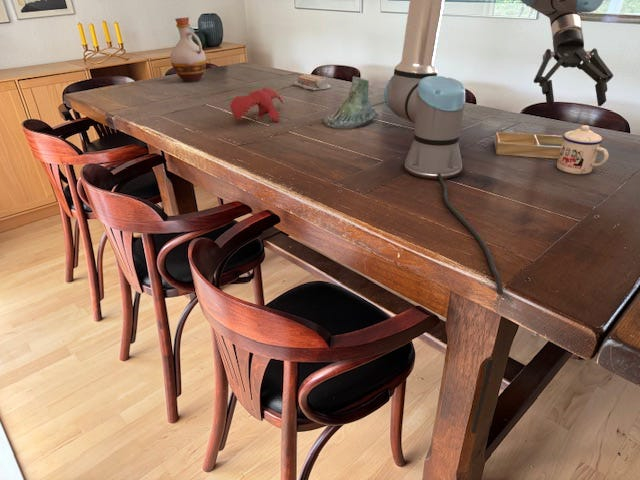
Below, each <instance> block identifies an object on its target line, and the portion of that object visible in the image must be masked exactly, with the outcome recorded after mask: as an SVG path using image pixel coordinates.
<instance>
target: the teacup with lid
mask: <svg viewBox="0 0 640 480" xmlns="http://www.w3.org/2000/svg"><path fill="white" fill-rule="evenodd" d="M590 128H591V127H590V126H589V125H586V124H585V125H581V126H580V128H577V129H574V130H569V131H565V133H564V134H563V135H562V136H563V142H562V146H561V150H560V154H559V158H558V159H557V161H556V167H557V169H558V170H560V171H562V172H565V173H568V174H573V175H587V174H590V173H591V172H592V171H593V168H594V167H601V166H602V165H604V164H605V163H606V162H607V161H608V159H609V152H608V150H607V149H606V148H605V147H601V143H602V142H603V137H602V136H601V135H600V134H598V133H595V132H594V131H592V130H590ZM598 152H601V153H602V154H603V159H602V160H601V161H600V162H596V158H597V156H598Z"/></svg>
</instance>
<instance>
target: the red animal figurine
mask: <svg viewBox="0 0 640 480" xmlns="http://www.w3.org/2000/svg"><path fill="white" fill-rule="evenodd" d="M274 99H278V100H279V101H280V103H281V104H284V102H283V100H282V98H281V96H280V95H279V93H278V92H276V91H275V90H273V89H271V88H267V87H263V88H261V90H259V89H257V90H255V91H252V92H249V94H248V95H245V96H238V95H237V96H235V97H234V98H233V99H232V100H231V103H230V105H229V107H230V109H231V114H232V116H233V117H234V118H235V120H236V121H239V120H243V117H245V116H246V114H245V113H247V114H248V113H249V110H251V108H253V107H254V106H257V107H258V112H257V116H254V119H255V120H258V118H259V117H260V118H261V119H262V118H263V116H265V115H266V114H267V117H269V119H271V120H272V121H273V123H278V122H279V121H280V115H281V114H280V111H278V110H276V109H275V106H274V102H273V100H274Z"/></svg>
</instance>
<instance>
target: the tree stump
mask: <svg viewBox="0 0 640 480" xmlns="http://www.w3.org/2000/svg"><path fill="white" fill-rule="evenodd" d="M369 83H370V81H369V79H365V78H361V77H357V76H352V79H351V86H350V90H349V92H348V97H347V99H345V100H344V101H342V102H343V104H342V105H341V106H340V107H339V108H338V109H335V110H334V112H333V113H330V115H329V116H327V117H325V118H324V119H323V121H322V124H323V125H325V126H326V127H328V128H333V129H338V130H339V129H342V130H345V129H346V130H352V129H358V128H361V127H364V126H367V125H368V124H369V123H371V122H372V121H373V120H375V118H377V117H378V116H379V111H378V110H375V109H373V108H372V105H371V102H370V101H369V87H370V86H369Z"/></svg>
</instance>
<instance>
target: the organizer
mask: <svg viewBox="0 0 640 480" xmlns="http://www.w3.org/2000/svg"><path fill="white" fill-rule="evenodd" d="M562 142H563V135H555V134H554V135H553V134H537V133H521V132H503V131H496V132H495V136H494V149H495V154H496V155H499V156H500V155H504V156H515V157H531V158H544V159H545V158H546V159H557V160H558V158H559V154H560V150H561V146H562Z"/></svg>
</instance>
